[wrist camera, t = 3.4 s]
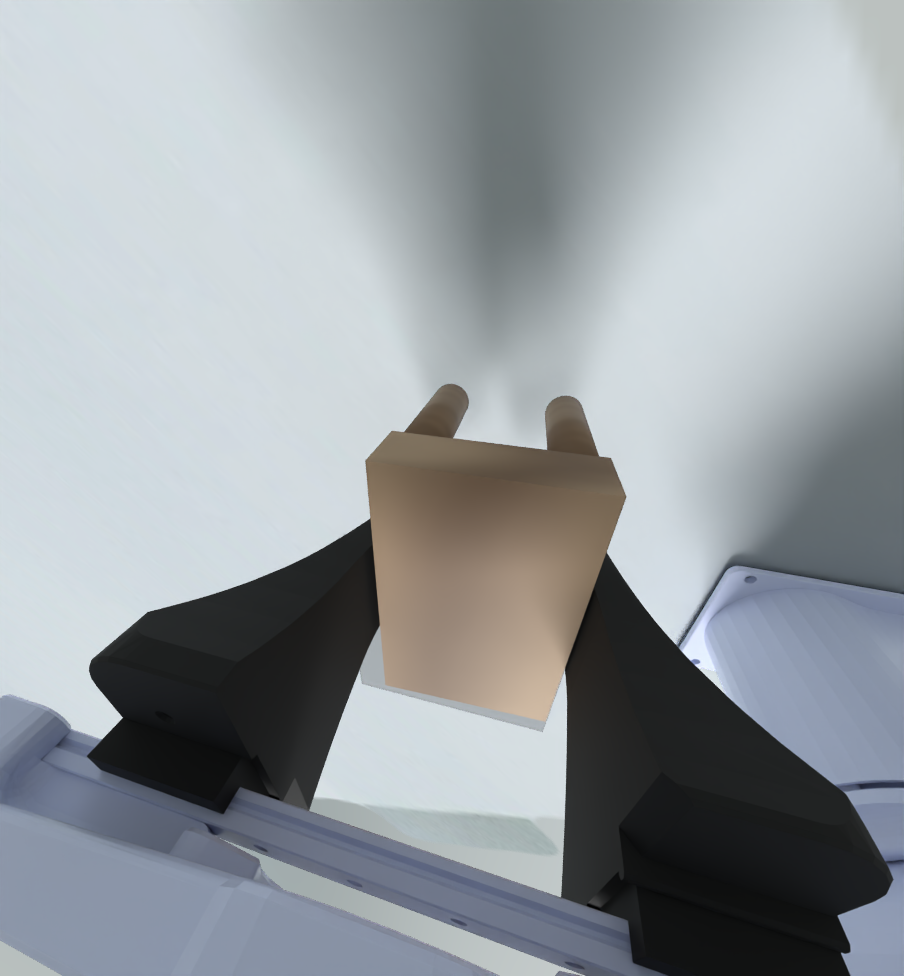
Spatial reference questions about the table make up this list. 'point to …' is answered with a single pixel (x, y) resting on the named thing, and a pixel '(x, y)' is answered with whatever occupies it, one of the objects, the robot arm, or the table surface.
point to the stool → (487, 554)
